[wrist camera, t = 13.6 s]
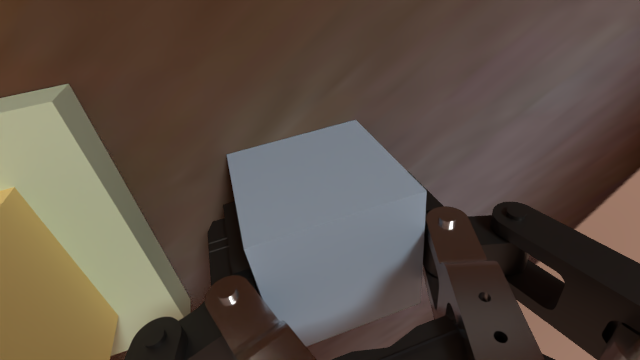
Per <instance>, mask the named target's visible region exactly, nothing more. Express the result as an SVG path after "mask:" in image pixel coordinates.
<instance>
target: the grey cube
mask: <svg viewBox="0 0 640 360" xmlns="http://www.w3.org/2000/svg"><path fill="white" fill-rule="evenodd" d="M227 160H228V165H229V171H230V176H231V182H232V187H233V193H234V198H235V204H236V209H237V215H238V220H239V226H240V231H241V236H242V242H243V247H244V251H245V254H246V256H247V259H248V262H249V264H250V267H251V270H252V272H253V275H254V278H255V280H256V283H257V286H258V288H259V291H260V294H261V296H262V299H263V301H264V302H265V303H266V304H267V306H268V307H269V308H270V309H271V311H272V312H273V313H274V315H275V316H276V317H277V318H278V320H279V321H282V320H283V321H285V322H286V323H287V324H288V325H289V326H290V327H291V329H292V330H293V331H294V332H295V334H296V335H297V336H298V337H299V339H300V340H301V341H302V342H303V344H304V345H305V346H306V347H307V346H309V345H312V344H315V343H317V342H320V341H323V340H325V339H328V338H330V337H333V336H336V335H338V334H341V333H344V332H346V331H349V330H351V329H354V328H357V327H359V326H362V325H365V324H367V323H370V322H372V321H375V320H378V319H380V318H383V317H386V316H388V315H391V314H393V313H396V312H399V311H401V310H404V309H407V308H409V307H412V306H415V305H417V304H420V303H421V288H422V269H423V251H424V233H425V214H426V196H427V191H426V190H425V189H424V188H423V187H422V186H421V185H420V184H419V183H418V182H417V181H416V180H415V179H414V178H413V177H412V176H411V175H410V174H409V173H408V172H407V171H406V170H405V169H404V168H403V167H402V166H401V165H400V164H399V163H398V162H397V161H396V160H395V159H394V158H393V157H392V156H391V155H390V154H389V153H388V152H387V151H386V150H385V149H384V148H383V147H382V146H381V145H380V144H379V143H378V142H377V141H376V140H375V139H374V138H373V137H372V136H371V135H370V134H369V133H368V132H367V131H366V130H365V129H364V128H363V127H362V126H361V125H360V124H359V123H358V122H357V121H356V120H353V121H350V122H346V123H342V124H338V125H335V126H331V127H327V128H324V129H320V130H316V131H312V132H309V133H305V134H301V135H298V136H294V137H290V138H286V139H283V140H279V141H275V142H272V143H268V144H264V145H260V146H257V147H253V148H249V149H246V150H242V151H238V152H234V153H231V154H227Z"/></svg>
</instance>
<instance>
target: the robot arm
mask: <svg viewBox="0 0 640 360" xmlns="http://www.w3.org/2000/svg"><path fill="white" fill-rule="evenodd" d="M407 172H408V171H407ZM408 173H409V172H408ZM409 174H410V173H409ZM410 175H411V174H410ZM411 176H412V175H411ZM412 177H413V178H414V179H415V180H416V178H415V177H414V176H412ZM417 182H418V183H419V184H420V185H421V186H422V184H421V183H420V182H419V181H418V180H417ZM423 188H424V189H425V190H426V191H427V196H426V214H425V233H424V251H423V275H424V279H425V284H426V288H427V292H428V296H429V300H430V304H431V308H432V312H433V317H434V320H432V321H429V322H427V323H424V324H422V325H419V326H417V327H415V328H414V329H413V330H412V331H410V332H409V333H408V334H406V335H405V336H404V337H402V338H401V339H400V340H399V341H397V342H396V343H395V344H393V345H392V346H390V347H388V348H381V349H372V350H363V351H354V352H350V353H348V354H345V355H343V356H340V357H337V358H335V359H332V360H555V359H553V358H550V357H548V356H546V355H544V354H542V353H541V351H540V349H539V346H538V344H537V342H536V340H535V338H534V336H533V334H532V332H531V330H530V328H529V326H528V324H527V322H526V319H525V317H524V315H523V313H522V311H521V309H520V307H519V305H518V303H517V301H516V300H518V301H519V302H520V303H522V304H523V305H524V306H526V307H527V308H529V309H530V310H531V311H532V312H534V313H535V314H536V315H538V316H539V317H540V318H542V319H543V320H544V321H546V322H548V323H549V324H550V325H551V326H553V327H554V328H555V329H557V330H558V331H559V332H561V333H562V334H563V335H565V336H566V337H568V338H569V339H570V340H571V341H573V342H574V343H575V344H577V345H578V346H579V347H581V348H582V349H583V350H585V351H586V352H587V353H589V354H590V355H592V356H593V357H594V358H595V359H597V360H640V264H639V263H638V262H635V261H634V260H632V259H630V258H628V257H626V256H624V255H622V254H620V253H618V252H616V251H614V250H612V249H610V248H608V247H607V246H605V245H603V244H601V243H599V242H597V241H595V240H593V239H591V238H589V237H587V236H585V235H583V234H581V233H580V232H578V231H576V230H574V229H572V228H570V227H568V226H566V225H564V224H562V223H560V222H558V221H556V220H554V219H553V218H551V217H549V216H547V215H545V214H543V213H541V212H539V211H537V210H535V209H533V208H531V207H529V206H527V205H525V204H522V203H518V202H503V203H500V204H498V205H496V206H495V207H494V209H493V212H492V215H488V216H474V217H469V216H467V215H466V214H465V213H464V212H462V211H461V210H459V209H456V208H453V207H444V206H443V205H442V204H441V203H440V202H439V201H438V200H437V199H436V198H435V197H434V196H433V195H432V194H431V193H430V192H429V191H428V190H427V189H426V188H425V187H424V186H423ZM223 209H224V216H225V218H224V219H220V220H217V221H213V222H212V225H211V227H210V229H209V231H208V243H209V259H210V275H211V287H210V288H209V290H208V291H207V294H206V296H205V301H204V302H203V303H202V304H201V306H199V307H198V308H197V309H196V310H194V311H193V312H191V313H190V314H188V315H187V316H185V317H184V318H182V319H180V320H179V321H178V320H177V319H175V318H173V317H160V318H157V319H154V320H152V321H150V322H149V323H147V324H146V325H145V326H143V327H142V328H141V329H140V330H139V331H138V332H137V334H136V335H135V336H134V338H133V340H132V342H131V344H130V347H129V349H128V352H127V354H126V357H125V359H124V360H316V359H315V357H314V356H313V355H312V354H311V352H310V351H309V350H308V349H307V347H306V346H305V345H304V344H303V342H302V341H301V340H300V339H299V337H298V336H297V335H296V334H295V332H294V331H293V330H292V329H291V327H290V326H289V325H288V324H287V323H286V322H285V321H283V320H282V321H279V320H278V318H277V317H276V316H275V315H274V313H273V312H272V311H271V309H270V308H269V307H268V306H267V304H266V303H265V302H264V301H263V299H262V296H261V294H260V291H259V288H258V286H257V283H256V280H255V278H254V275H253V272H252V270H251V267H250V264H249V262H248V259H247V256H246V254H245V251H244V247H243V242H242V236H241V231H240V226H239V220H238V215H237V209H236V204H235V201H234V202H231V203H228V204H224V205H223ZM529 255H531V256H533V257H534V258H536V259H537V260H539V261H541V262H542V263H544V264H545V265H547V266H549V267H550V268H552V269H553V270H555V271H557V272H558V273H559V274H560V275H561V276H562V278H563V279H564V281H565V283H564V282H562V281H560V280H559V279H557V278H556V277H554V276H553V275H551V274H550V273H548V272H546V271H545V270H543V269H542V268H540V267H539V266H537V265H535V264H534V263H532V262H531V261H529V260H528V258H529Z"/></svg>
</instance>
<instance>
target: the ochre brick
mask: <svg viewBox="0 0 640 360" xmlns="http://www.w3.org/2000/svg"><path fill="white" fill-rule="evenodd" d="M117 321H118V315H117V313H116V312H115V311H114V310H113V308H112V307H111V306H110V305H109V303H108V302H107V301H106V300H105V298H104V297H103V296H102V295H101V293H100V292H99V291H98V290H97V289H96V287H95V286H94V285H93V284H92V282H91V281H90V280H89V279H88V277H87V276H86V275H85V274H84V272H83V271H82V270H81V269H80V267H79V266H78V265H77V264H76V263H75V261H74V260H73V259H72V258H71V256H70V255H69V254H68V253H67V251H66V250H65V249H64V248H63V246H62V245H61V244H60V243H59V241H58V240H57V239H56V238H55V236H54V235H53V234H52V233H51V232H50V230H49V229H48V228H47V227H46V225H45V224H44V223H43V222H42V220H41V219H40V218H39V217H38V215H37V214H36V213H35V212H34V210H33V209H32V208H31V207H30V206H29V204H28V203H27V202H26V201H25V199H24V198H23V197H22V196H21V194H20V193H19V192H18V191H17V189H16V188H15V187H13V188H9V189H5V190H1V191H0V360H110V356H111V351H112V346H113V341H114V336H115V331H116V326H117Z"/></svg>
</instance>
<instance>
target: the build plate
mask: <svg viewBox="0 0 640 360" xmlns="http://www.w3.org/2000/svg"><path fill="white" fill-rule="evenodd" d="M13 187H15V188H16V189H17V191H18V192H19V193H20V194H21V196H22V197H23V198H24V199H25V201H26V202H27V203H28V204H29V206H30V207H31V208H32V209H33V210H34V212H35V213H36V214H37V215H38V217H39V218H40V219H41V220H42V222H43V223H44V224H45V225H46V227H47V228H48V229H49V230H50V232H51V233H52V234H53V235H54V236H55V238H56V239H57V240H58V241H59V243H60V244H61V245H62V246H63V248H64V249H65V250H66V251H67V253H68V254H69V255H70V256H71V258H72V259H73V260H74V261H75V263H76V264H77V265H78V266H79V267H80V269H81V270H82V271H83V272H84V274H85V275H86V276H87V277H88V279H89V280H90V281H91V282H92V284H93V285H94V286H95V287H96V289H97V290H98V291H99V292H100V293H101V295H102V296H103V297H104V298H105V300H106V301H107V302H108V303H109V305H110V306H111V307H112V308H113V310H114V311H115V312H116V313H117V315H118V321H117V326H116V331H115V336H114V341H113V346H112V351H111V356H112V355H115V354H118V353H121V352H124V351H127V350H128V349H129V347H130V344H131V342H132V340H133V338H134V336H135V335H136V334H137V332H138V331H139V330H140V329H141V328H142V327H143V326H145V325H146V324H147V323H149V322H150V321H152V320H154V319H157V318H160V317H173V318H175V319H177V320H178V321H179V320H180V319H182V318H184V317H185V316H187V315H188V314H190V298H189V296H188V294H187V292H186V291H185V289H184V287H183V285H182V284H181V282H180V280H179V278H178V277H177V275H176V273H175V271H174V269H173V268H172V266H171V264H170V262H169V261H168V259H167V257H166V255H165V253H164V252H163V250H162V248H161V246H160V245H159V243H158V241H157V239H156V238H155V236H154V234H153V232H152V230H151V229H150V227H149V225H148V223H147V222H146V220H145V218H144V216H143V214H142V213H141V211H140V209H139V207H138V206H137V204H136V202H135V200H134V198H133V197H132V195H131V193H130V191H129V190H128V188H127V186H126V184H125V183H124V181H123V179H122V177H121V175H120V174H119V172H118V170H117V168H116V167H115V165H114V163H113V161H112V159H111V158H110V156H109V154H108V152H107V151H106V149H105V147H104V145H103V144H102V142H101V140H100V138H99V136H98V135H97V133H96V131H95V129H94V128H93V126H92V124H91V122H90V120H89V119H88V117H87V115H86V113H85V112H84V110H83V108H82V106H81V105H80V103H79V101H78V99H77V97H76V96H75V94H74V92H73V90H72V89H71V87H70V85H69V84H65V85H60V86H55V87H51V88H46V89H41V90H37V91H32V92H27V93H23V94H18V95H13V96H9V97H4V98H0V191H1V190H5V189H9V188H13Z"/></svg>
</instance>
